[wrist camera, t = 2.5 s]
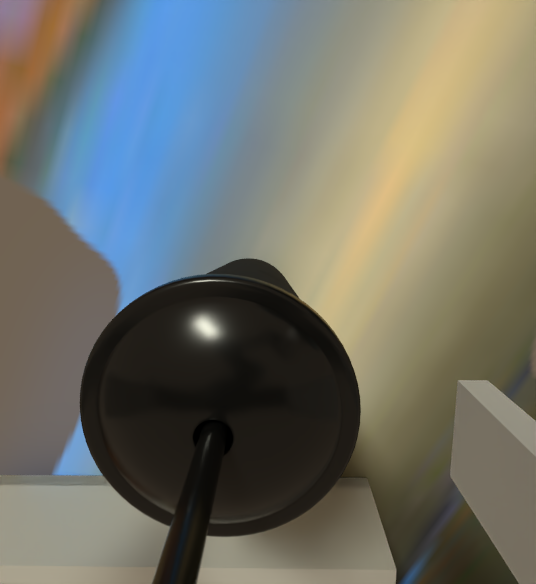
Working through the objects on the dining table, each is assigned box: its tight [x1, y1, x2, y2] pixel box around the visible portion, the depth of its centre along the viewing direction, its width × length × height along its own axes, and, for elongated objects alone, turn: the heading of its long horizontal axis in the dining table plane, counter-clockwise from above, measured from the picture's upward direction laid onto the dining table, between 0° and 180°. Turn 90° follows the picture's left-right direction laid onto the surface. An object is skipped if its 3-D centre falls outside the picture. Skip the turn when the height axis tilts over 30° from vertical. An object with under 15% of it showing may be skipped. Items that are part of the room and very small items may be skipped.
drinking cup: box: [80, 259, 361, 584], centre depth 16 cm, size 8×8×20 cm
